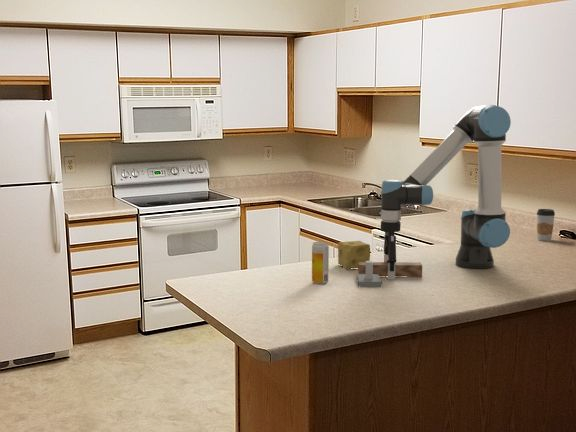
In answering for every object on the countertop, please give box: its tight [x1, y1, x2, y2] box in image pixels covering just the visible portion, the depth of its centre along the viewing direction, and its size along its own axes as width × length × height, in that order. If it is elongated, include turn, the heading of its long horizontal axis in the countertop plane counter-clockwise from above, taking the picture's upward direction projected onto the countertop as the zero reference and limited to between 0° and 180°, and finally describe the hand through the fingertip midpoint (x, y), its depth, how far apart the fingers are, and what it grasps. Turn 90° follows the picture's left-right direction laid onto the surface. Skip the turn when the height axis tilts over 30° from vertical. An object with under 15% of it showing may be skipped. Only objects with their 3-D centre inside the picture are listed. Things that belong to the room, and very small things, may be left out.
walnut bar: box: [357, 261, 423, 278], centre depth 264 cm, size 24×5×5 cm, turn 88°
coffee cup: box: [536, 208, 556, 242], centre depth 334 cm, size 8×8×15 cm
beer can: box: [311, 241, 330, 286], centre depth 252 cm, size 6×6×15 cm
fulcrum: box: [356, 260, 383, 288], centre depth 252 cm, size 8×12×8 cm, turn 178°
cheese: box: [337, 240, 371, 270], centre depth 279 cm, size 10×11×10 cm
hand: (389, 275), depth 264 cm, fingers open, 13 cm apart
